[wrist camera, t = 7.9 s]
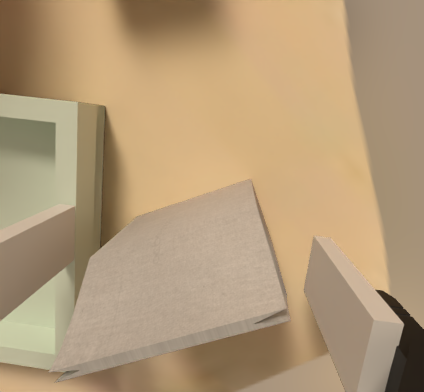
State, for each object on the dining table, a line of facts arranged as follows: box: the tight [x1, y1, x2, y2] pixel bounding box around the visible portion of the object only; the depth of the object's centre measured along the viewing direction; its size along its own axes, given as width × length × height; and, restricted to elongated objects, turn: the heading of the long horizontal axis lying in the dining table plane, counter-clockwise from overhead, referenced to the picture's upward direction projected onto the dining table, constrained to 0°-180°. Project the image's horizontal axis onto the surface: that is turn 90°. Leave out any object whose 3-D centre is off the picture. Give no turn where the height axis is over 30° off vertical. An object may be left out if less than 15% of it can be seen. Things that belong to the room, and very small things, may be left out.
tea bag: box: [49, 179, 291, 383], centre depth 13 cm, size 4×7×10 cm, turn 110°
